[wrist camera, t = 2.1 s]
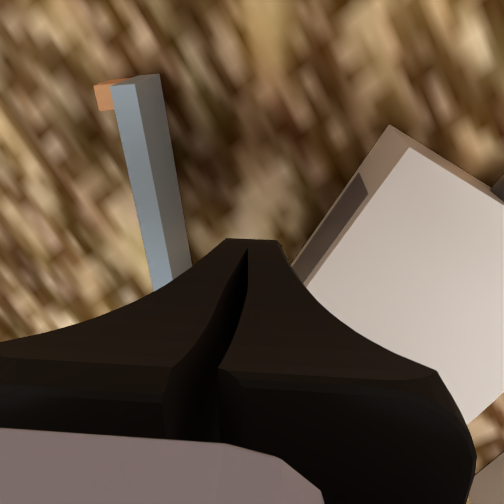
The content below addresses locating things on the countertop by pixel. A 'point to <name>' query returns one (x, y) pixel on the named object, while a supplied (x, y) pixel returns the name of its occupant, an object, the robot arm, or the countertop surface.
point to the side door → (150, 171)
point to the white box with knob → (417, 265)
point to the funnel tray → (489, 484)
